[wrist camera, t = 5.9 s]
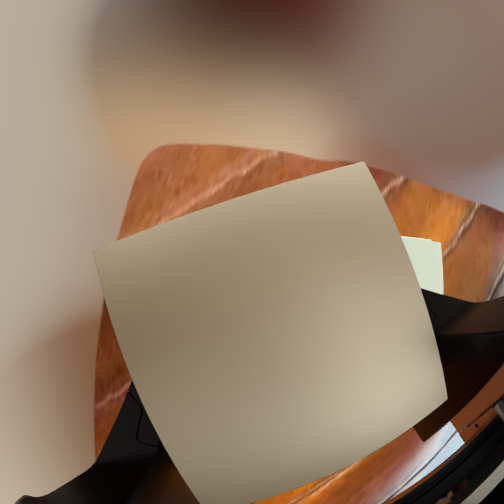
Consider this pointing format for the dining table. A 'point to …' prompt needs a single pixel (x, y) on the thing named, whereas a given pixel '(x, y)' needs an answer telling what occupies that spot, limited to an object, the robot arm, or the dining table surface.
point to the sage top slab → (426, 263)
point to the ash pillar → (274, 334)
